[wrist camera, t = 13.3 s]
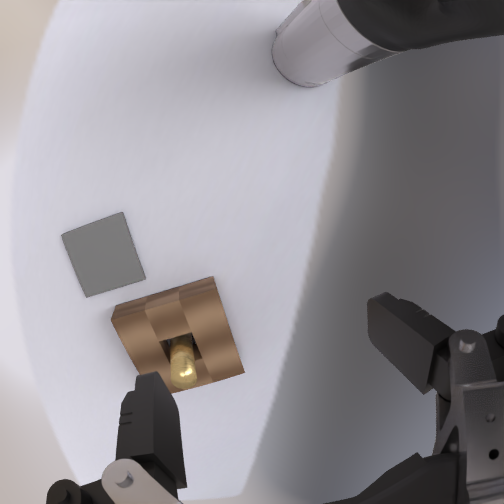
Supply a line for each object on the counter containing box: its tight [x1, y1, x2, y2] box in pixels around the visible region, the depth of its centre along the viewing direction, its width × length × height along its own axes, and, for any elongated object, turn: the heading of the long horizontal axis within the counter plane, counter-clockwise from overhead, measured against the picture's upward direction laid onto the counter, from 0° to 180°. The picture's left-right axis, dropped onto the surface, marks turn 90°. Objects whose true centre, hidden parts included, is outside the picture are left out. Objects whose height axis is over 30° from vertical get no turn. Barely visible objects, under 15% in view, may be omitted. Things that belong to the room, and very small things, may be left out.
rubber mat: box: [61, 212, 146, 298], centre depth 34 cm, size 9×9×1 cm
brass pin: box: [170, 332, 197, 389], centre depth 35 cm, size 3×3×10 cm
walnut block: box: [111, 277, 245, 394], centre depth 38 cm, size 14×14×4 cm
